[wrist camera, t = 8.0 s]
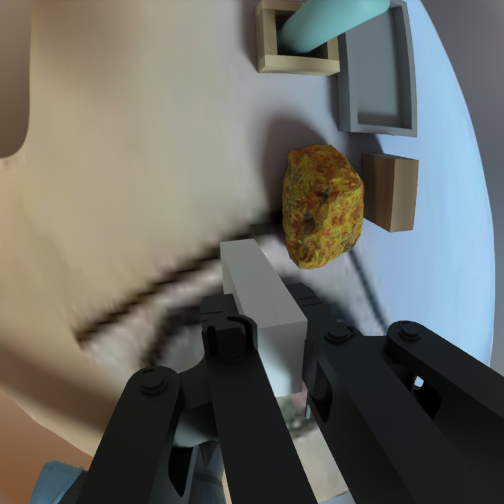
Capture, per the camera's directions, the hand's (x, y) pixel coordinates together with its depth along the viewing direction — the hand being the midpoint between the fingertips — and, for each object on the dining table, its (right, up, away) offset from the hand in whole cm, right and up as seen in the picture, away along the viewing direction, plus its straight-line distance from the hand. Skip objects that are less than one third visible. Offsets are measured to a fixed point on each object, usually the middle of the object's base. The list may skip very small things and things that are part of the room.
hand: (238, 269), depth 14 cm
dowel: (+4, +21, +11) cm, 24 cm away
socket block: (+4, +21, +11) cm, 24 cm away
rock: (+7, +6, +17) cm, 20 cm away
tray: (+13, +21, +12) cm, 28 cm away
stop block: (+14, +8, +18) cm, 24 cm away
